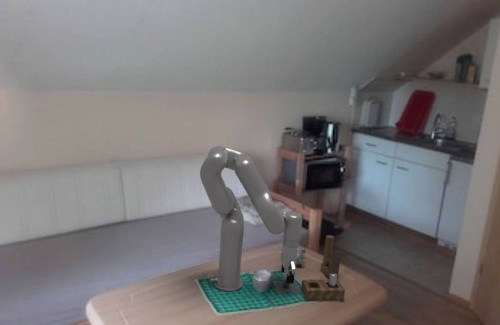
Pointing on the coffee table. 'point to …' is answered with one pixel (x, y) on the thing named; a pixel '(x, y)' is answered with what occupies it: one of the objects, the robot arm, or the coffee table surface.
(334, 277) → the seated peg
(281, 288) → the mat
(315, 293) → the hole block
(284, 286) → the peg
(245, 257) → the coffee table surface
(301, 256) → the gray elephant figurine
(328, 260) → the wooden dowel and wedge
